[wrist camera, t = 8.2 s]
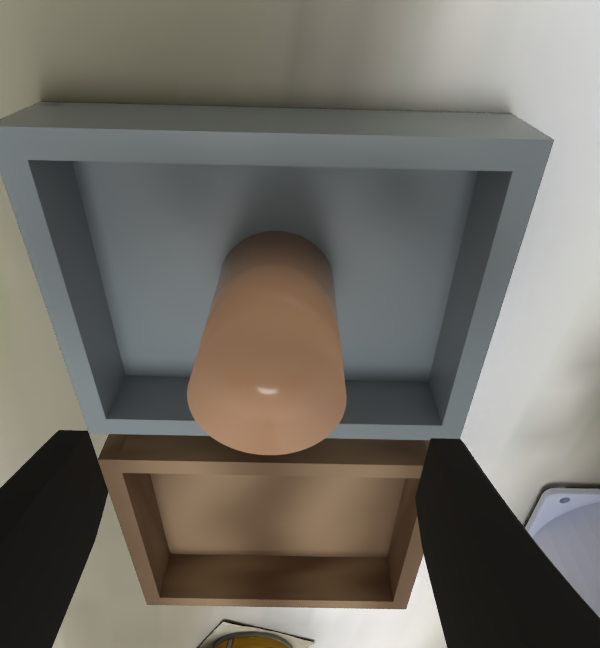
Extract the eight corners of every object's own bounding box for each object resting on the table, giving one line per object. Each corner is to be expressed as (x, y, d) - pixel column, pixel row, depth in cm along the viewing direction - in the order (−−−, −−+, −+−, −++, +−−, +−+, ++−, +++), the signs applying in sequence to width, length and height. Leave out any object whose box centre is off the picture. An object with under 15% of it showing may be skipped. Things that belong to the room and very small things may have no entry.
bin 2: (434, 411, 21) (451, 466, 19) (397, 555, 28) (406, 609, 26) (121, 405, 21) (97, 459, 19) (160, 551, 28) (147, 604, 26)
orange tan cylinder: (337, 232, 16) (353, 340, 11) (329, 330, 18) (340, 456, 13) (216, 229, 16) (177, 336, 11) (224, 328, 18) (195, 453, 13)
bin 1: (510, 113, 14) (554, 139, 12) (440, 386, 21) (459, 441, 18) (39, 101, 14) (-16, 125, 12) (114, 380, 21) (88, 433, 18)
